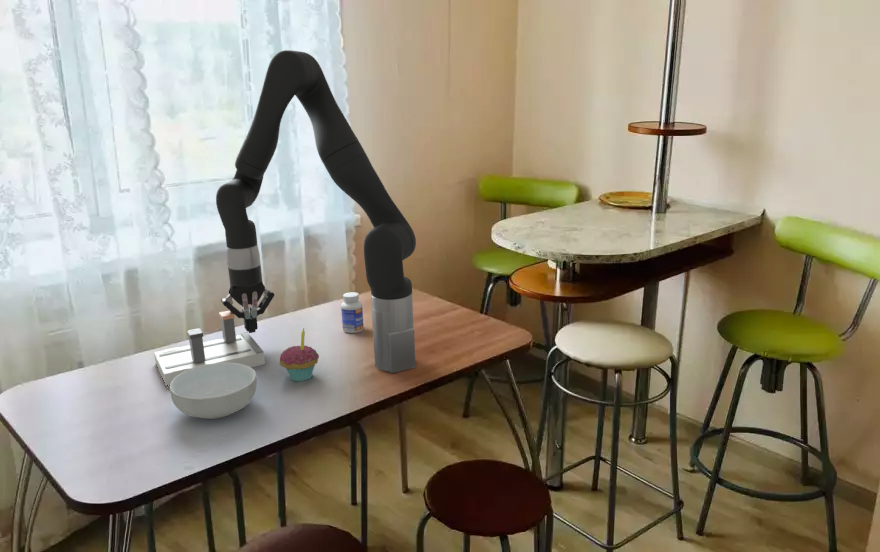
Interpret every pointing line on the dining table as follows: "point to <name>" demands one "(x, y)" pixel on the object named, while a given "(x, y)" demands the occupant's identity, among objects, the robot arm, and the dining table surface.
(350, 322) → the pill bottle
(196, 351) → the black fader
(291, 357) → the cupcake
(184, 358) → the console
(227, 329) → the terracotta fader
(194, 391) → the cereal bowl
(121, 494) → the dining table surface
